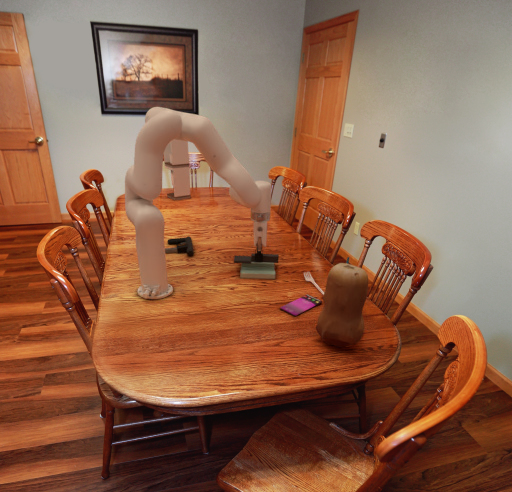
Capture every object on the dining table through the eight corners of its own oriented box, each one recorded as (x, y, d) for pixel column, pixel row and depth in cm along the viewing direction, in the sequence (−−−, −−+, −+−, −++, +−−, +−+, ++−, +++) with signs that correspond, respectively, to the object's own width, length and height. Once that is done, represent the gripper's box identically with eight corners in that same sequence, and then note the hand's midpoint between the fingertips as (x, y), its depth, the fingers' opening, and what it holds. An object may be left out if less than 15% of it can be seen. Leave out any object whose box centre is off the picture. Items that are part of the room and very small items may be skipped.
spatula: (277, 259, 165) (278, 252, 164) (278, 264, 161) (278, 258, 159) (234, 257, 165) (234, 251, 164) (233, 263, 161) (233, 256, 159)
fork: (321, 298, 147) (322, 293, 146) (302, 276, 163) (302, 271, 162) (329, 297, 148) (330, 292, 147) (309, 275, 164) (310, 271, 163)
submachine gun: (158, 253, 172) (196, 250, 174) (159, 238, 189) (193, 235, 191) (159, 260, 174) (196, 257, 176) (160, 244, 190) (194, 241, 193)
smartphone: (322, 303, 143) (322, 301, 143) (294, 316, 134) (295, 314, 134) (306, 296, 148) (307, 294, 147) (279, 308, 139) (279, 306, 138)
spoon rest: (275, 279, 160) (275, 274, 158) (240, 278, 159) (240, 272, 158) (274, 265, 171) (274, 260, 170) (241, 264, 171) (241, 259, 170)
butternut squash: (354, 332, 128) (369, 258, 114) (365, 356, 117) (383, 277, 103) (311, 331, 127) (321, 257, 114) (318, 355, 116) (330, 276, 102)
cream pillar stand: (182, 194, 269) (178, 137, 250) (190, 198, 262) (187, 139, 243) (167, 196, 263) (162, 137, 244) (175, 200, 256) (171, 139, 237)
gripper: (270, 222, 146) (268, 269, 156) (269, 210, 160) (267, 253, 170) (250, 221, 146) (249, 268, 156) (250, 209, 160) (249, 253, 170)
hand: (258, 260), depth 163 cm, fingers closed on spatula, 2 cm apart
